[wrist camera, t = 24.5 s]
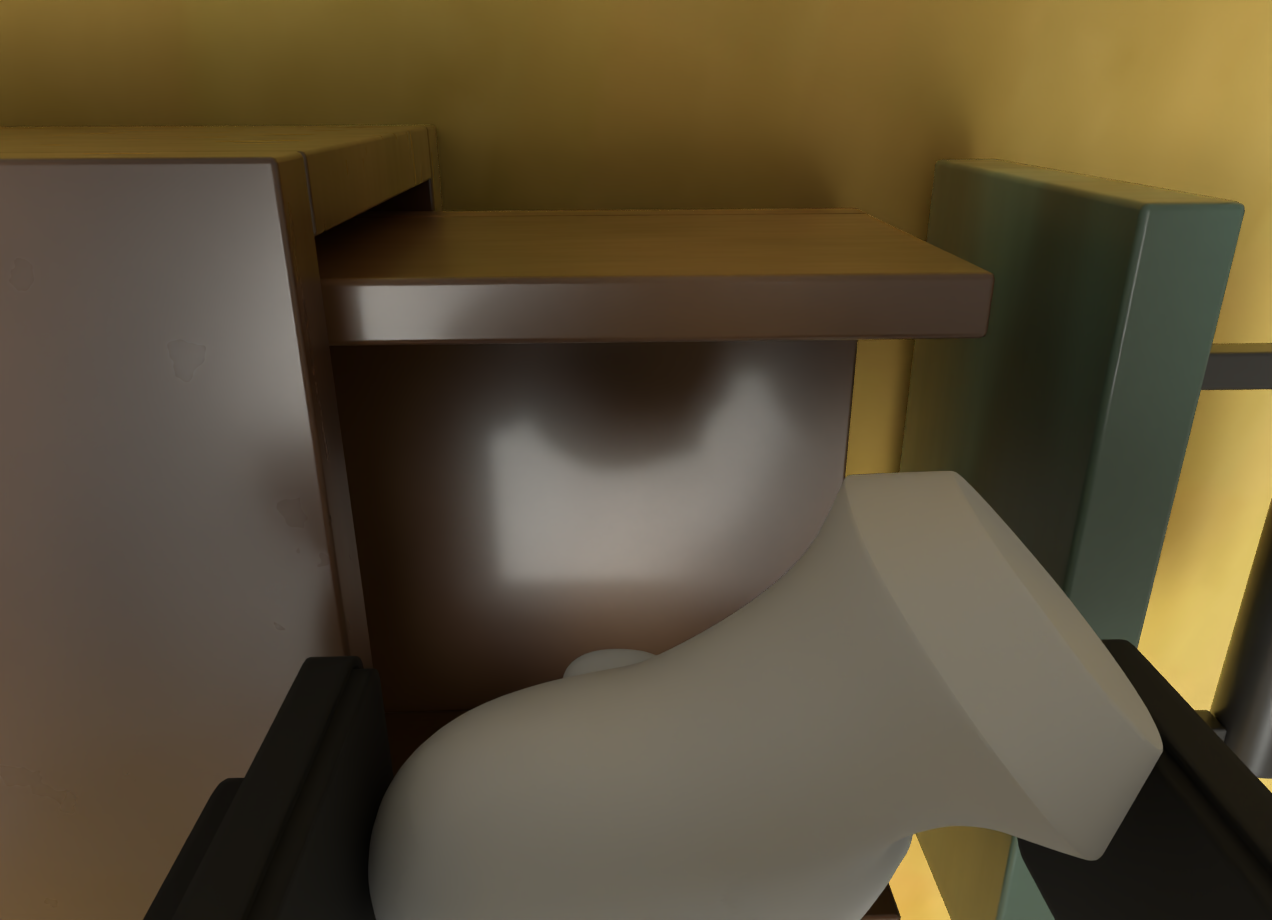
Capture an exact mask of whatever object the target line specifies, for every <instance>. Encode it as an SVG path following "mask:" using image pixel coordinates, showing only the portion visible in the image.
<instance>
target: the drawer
mask: <svg viewBox="0 0 1272 920" xmlns="http://www.w3.org/2000/svg"><path fill="white" fill-rule="evenodd" d="M1244 212H1245V210H1244V205H1243V204H1241V203H1239V202H1237V201H1231V200H1226V199H1220V198H1214V197H1209V196H1203V195H1197V194H1192V193H1186V192H1180V191H1175V190H1169V189H1163V188H1157V187H1152V186H1146V185H1140V184H1135V183H1129V182H1123V181H1118V180H1112V179H1106V178H1101V177H1095V176H1089V175H1083V174H1078V173H1072V172H1066V171H1061V170H1055V169H1049V168H1044V167H1038V166H1032V165H1027V164H1021V163H1015V162H1009V161H1004V160H998V159H946V160H939V161H937V162H936V165H935V172H934V180H933V189H932V197H931V206H930V214H929V223H928V232H927V240H926V242H925V241H923V240H921V239H919V238H917V237H915V236H913V235H911V234H908V233H906V232H904V231H902V230H900V229H898V228H896V227H894V226H891V225H889V224H887V223H885V222H883V221H881V220H879V219H877V218H875V217H872V216H870V215H868V214H867V213H865V212H863V211H861V210H859V209H857V208H797V209H662V210H527V211H392V212H363V213H361V214H359V215H357V216H355V217H353V218H351V219H349V220H347V221H345V222H343V223H341V224H339V225H337V226H335V227H333V228H331V229H329V230H327V231H325V232H323V233H321V234H319V235H317V236H315V237H314V238H315V246H316V253H317V260H318V268H319V275H320V282H321V290H322V297H323V304H324V312H325V319H326V326H327V334H328V341H329V348H330V356H331V363H332V370H333V378H334V385H335V392H336V400H337V407H338V414H339V422H340V429H341V436H342V444H343V451H344V458H345V466H346V473H347V480H348V488H349V495H350V502H351V510H352V517H353V524H354V532H355V539H356V546H357V554H358V561H359V568H360V576H361V583H362V590H363V598H364V605H365V612H366V620H367V627H368V634H369V642H370V649H371V656H372V663H373V668H375V669H377V670H378V673H379V676H380V681H381V689H382V696H383V703H384V710H385V718H386V725H387V732H388V740H389V747H390V754H391V761H392V769H393V776H394V777H395V775H396V774H397V772H398V771H399V769H400V768H401V767H402V765H403V764H404V763H405V762H406V760H407V759H408V758H409V757H410V756H411V755H412V754H413V752H414V751H415V750H416V749H417V748H418V747H419V746H420V745H421V744H423V743H424V742H425V741H426V740H427V739H428V738H429V737H431V736H432V735H433V734H434V733H435V732H437V731H438V730H439V729H441V728H442V727H443V726H445V725H446V724H448V723H449V722H451V721H453V720H454V719H456V718H457V717H459V716H461V715H462V714H464V713H466V712H468V711H470V710H472V709H474V708H476V707H478V706H480V705H482V704H484V703H486V702H489V701H491V700H494V699H496V698H499V697H501V696H504V695H507V694H510V693H513V692H515V691H518V690H521V689H525V688H528V687H531V686H535V685H538V684H542V683H546V682H549V681H553V680H557V679H562V678H563V676H564V673H565V671H566V669H567V667H568V666H569V665H570V664H571V663H572V662H573V661H574V660H575V659H577V658H578V657H580V656H582V655H584V654H587V653H590V652H593V651H598V650H605V649H631V650H639V651H644V652H648V653H651V654H654V655H656V656H657V655H659V654H661V653H663V652H665V651H667V650H670V649H672V648H674V647H676V646H678V645H679V644H681V643H683V642H685V641H687V640H689V639H691V638H693V637H695V636H696V635H698V634H700V633H702V632H704V631H705V630H707V629H709V628H710V627H712V626H714V625H716V624H717V623H719V622H721V621H722V620H724V619H725V618H727V617H729V616H730V615H732V614H733V613H735V612H736V611H738V610H740V609H741V608H742V607H744V606H745V605H747V604H748V603H750V602H751V601H753V600H754V599H755V598H757V597H758V596H759V595H761V594H762V593H763V592H765V591H766V590H767V589H768V588H770V587H771V586H772V585H773V584H774V583H776V582H777V581H778V580H779V579H780V578H781V577H782V576H784V575H785V574H786V573H787V572H788V571H789V570H790V569H791V568H792V567H793V566H794V565H795V564H796V563H797V562H798V560H799V559H800V558H801V557H802V556H803V555H804V553H805V552H806V551H807V550H808V548H809V547H810V545H811V544H812V543H813V541H814V540H815V538H816V536H817V535H818V533H819V531H820V529H821V528H822V526H823V524H824V522H825V520H826V518H827V516H828V514H829V512H830V509H831V507H832V505H833V503H834V501H835V499H836V496H837V494H838V492H839V490H840V487H841V485H842V483H843V480H844V479H845V472H846V461H847V451H848V440H849V429H850V418H851V407H852V396H853V385H854V374H855V364H856V353H857V342H858V340H877V339H915V343H914V352H913V360H912V369H911V377H910V386H909V394H908V403H907V412H906V420H905V429H904V437H903V446H902V454H901V463H900V472H928V471H953V472H956V473H958V474H959V475H960V476H961V477H963V478H964V479H965V480H966V481H967V482H968V483H969V484H970V485H971V486H972V487H973V488H974V489H975V490H976V491H977V492H978V493H979V494H980V495H981V497H982V498H983V499H984V500H985V501H986V502H987V503H988V504H989V505H990V506H991V507H992V509H993V510H994V511H995V512H996V513H997V514H998V515H999V516H1000V518H1001V519H1002V520H1003V521H1004V522H1005V523H1006V524H1007V525H1008V527H1009V528H1010V529H1011V530H1012V531H1013V532H1014V533H1015V535H1016V536H1017V537H1018V538H1019V539H1020V540H1021V542H1022V543H1023V544H1024V545H1025V546H1026V547H1027V549H1028V550H1029V551H1030V552H1031V553H1032V554H1033V556H1034V557H1035V558H1036V559H1037V560H1038V562H1039V563H1040V564H1041V565H1042V566H1043V567H1044V569H1045V570H1046V571H1047V572H1048V573H1049V575H1050V576H1051V577H1052V578H1053V579H1054V581H1055V582H1056V583H1057V584H1058V586H1059V587H1060V588H1061V589H1062V591H1063V592H1064V593H1065V594H1066V596H1067V597H1068V598H1069V599H1070V601H1071V602H1072V603H1073V604H1074V606H1075V607H1076V608H1077V610H1078V611H1079V612H1080V613H1081V615H1082V616H1083V617H1084V619H1085V620H1086V621H1087V623H1088V624H1089V625H1090V627H1091V628H1092V629H1093V631H1094V632H1095V633H1096V635H1097V636H1098V637H1099V639H1123V640H1127V641H1129V642H1130V643H1131V644H1133V645H1134V646H1135V647H1136V648H1138V644H1139V640H1140V635H1141V631H1142V627H1143V623H1144V619H1145V615H1146V611H1147V607H1148V603H1149V599H1150V595H1151V591H1152V587H1153V582H1154V578H1155V574H1156V570H1157V566H1158V562H1159V558H1160V554H1161V550H1162V546H1163V542H1164V538H1165V534H1166V530H1167V525H1168V521H1169V517H1170V513H1171V509H1172V505H1173V501H1174V497H1175V493H1176V489H1177V485H1178V481H1179V477H1180V472H1181V468H1182V464H1183V460H1184V456H1185V452H1186V448H1187V444H1188V440H1189V436H1190V432H1191V428H1192V424H1193V419H1194V415H1195V411H1196V407H1197V403H1198V399H1199V395H1200V391H1201V390H1253V389H1272V343H1246V344H1212V342H1213V338H1214V334H1215V330H1216V326H1217V322H1218V318H1219V314H1220V309H1221V305H1222V301H1223V297H1224V293H1225V289H1226V285H1227V281H1228V277H1229V273H1230V269H1231V265H1232V261H1233V256H1234V252H1235V248H1236V244H1237V240H1238V236H1239V232H1240V228H1241V224H1242V220H1243V216H1244ZM1195 711H1196V713H1197V714H1198V715H1199V716H1200V717H1201V718H1202V719H1203V720H1204V721H1205V722H1206V723H1207V724H1208V725H1209V726H1210V728H1211V729H1212V730H1213V731H1214V732H1215V733H1216V734H1217V735H1218V736H1219V737H1220V738H1221V739H1222V740H1223V741H1224V743H1225V744H1226V745H1227V746H1228V747H1229V748H1230V749H1231V750H1232V751H1233V752H1234V753H1235V754H1236V755H1237V756H1238V758H1239V759H1240V760H1241V761H1242V762H1243V763H1244V764H1245V765H1246V766H1247V767H1248V768H1249V769H1250V770H1251V771H1252V773H1253V774H1254V775H1255V776H1256V777H1258V778H1269V779H1271V778H1272V499H1271V503H1270V506H1269V509H1268V513H1267V516H1266V520H1265V523H1264V527H1263V530H1262V534H1261V537H1260V540H1259V544H1258V547H1257V551H1256V554H1255V558H1254V561H1253V565H1252V568H1251V571H1250V575H1249V578H1248V582H1247V585H1246V589H1245V592H1244V596H1243V599H1242V602H1241V606H1240V609H1239V613H1238V616H1237V620H1236V623H1235V626H1234V630H1233V633H1232V637H1231V640H1230V644H1229V647H1228V651H1227V654H1226V657H1225V661H1224V664H1223V668H1222V671H1221V675H1220V678H1219V682H1218V685H1217V688H1216V692H1215V695H1214V699H1213V702H1212V706H1211V709H1210V712H1209V711H1207V710H1195ZM915 834H916V836H917V838H918V841H919V843H920V846H921V848H922V850H923V853H924V855H925V858H926V860H927V862H928V865H929V867H930V870H931V872H932V874H933V877H934V879H935V882H936V884H937V886H938V889H939V891H940V894H941V896H942V898H943V901H944V903H945V906H946V908H947V910H948V913H949V915H950V918H951V920H1055V919H1054V917H1053V915H1052V913H1051V911H1050V910H1049V908H1048V906H1047V904H1046V902H1045V900H1044V898H1043V897H1042V895H1041V893H1040V891H1039V889H1038V887H1037V885H1036V883H1035V882H1034V880H1033V878H1032V876H1031V874H1030V872H1029V870H1028V868H1027V867H1026V865H1025V863H1024V861H1023V859H1022V856H1021V853H1020V850H1019V846H1018V840H1017V837H1015V836H1012V835H1009V834H1006V833H1003V832H1000V831H996V830H992V829H987V828H980V827H970V826H950V827H941V828H936V829H931V830H926V831H922V832H919V833H915ZM900 918H901V916H900V913H899V911H898V908H897V905H896V902H895V899H894V897H893V894H892V891H891V888H890V885H889V883H888V884H887V886H886V887H885V889H884V890H883V891H882V893H881V894H880V895H879V897H878V898H877V899H876V901H875V902H874V903H873V905H872V906H871V907H870V909H869V910H868V911H867V912H866V914H865V915H864V916H863V917H862V918H861V919H860V920H900Z"/></svg>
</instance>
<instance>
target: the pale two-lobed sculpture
mask: <svg viewBox="0 0 1272 920" xmlns="http://www.w3.org/2000/svg"><path fill="white" fill-rule="evenodd" d="M1162 752H1163V744H1162V740H1161V737H1160V734H1159V732H1158V729H1157V727H1156V725H1155V723H1154V721H1153V719H1152V717H1151V715H1150V713H1149V711H1148V709H1147V708H1146V706H1145V704H1144V703H1143V701H1142V699H1141V698H1140V696H1139V695H1138V693H1137V691H1136V690H1135V688H1134V687H1133V685H1132V684H1131V682H1130V681H1129V679H1128V678H1127V676H1126V675H1125V673H1124V672H1123V671H1122V669H1121V668H1120V666H1119V665H1118V663H1117V662H1116V661H1115V659H1114V658H1113V656H1112V655H1111V654H1110V652H1109V651H1108V649H1107V648H1106V647H1105V645H1104V644H1103V643H1102V641H1101V640H1100V639H1099V637H1098V636H1097V635H1096V633H1095V632H1094V631H1093V629H1092V628H1091V627H1090V625H1089V624H1088V623H1087V621H1086V620H1085V619H1084V617H1083V616H1082V615H1081V613H1080V612H1079V611H1078V610H1077V608H1076V607H1075V606H1074V604H1073V603H1072V602H1071V601H1070V599H1069V598H1068V597H1067V596H1066V594H1065V593H1064V592H1063V591H1062V589H1061V588H1060V587H1059V586H1058V584H1057V583H1056V582H1055V581H1054V579H1053V578H1052V577H1051V576H1050V575H1049V573H1048V572H1047V571H1046V570H1045V569H1044V567H1043V566H1042V565H1041V564H1040V563H1039V562H1038V560H1037V559H1036V558H1035V557H1034V556H1033V554H1032V553H1031V552H1030V551H1029V550H1028V549H1027V547H1026V546H1025V545H1024V544H1023V543H1022V542H1021V540H1020V539H1019V538H1018V537H1017V536H1016V535H1015V533H1014V532H1013V531H1012V530H1011V529H1010V528H1009V527H1008V525H1007V524H1006V523H1005V522H1004V521H1003V520H1002V519H1001V518H1000V516H999V515H998V514H997V513H996V512H995V511H994V510H993V509H992V507H991V506H990V505H989V504H988V503H987V502H986V501H985V500H984V499H983V498H982V497H981V495H980V494H979V493H978V492H977V491H976V490H975V489H974V488H973V487H972V486H971V485H970V484H969V483H968V482H967V481H966V480H965V479H964V478H963V477H961V476H960V475H959V474H958V473H956V472H953V471H928V472H899V473H878V474H857V475H849V476H847V477H846V478H845V479H844V480H843V483H842V485H841V487H840V490H839V492H838V494H837V496H836V499H835V501H834V503H833V505H832V507H831V509H830V512H829V514H828V516H827V518H826V520H825V522H824V524H823V526H822V528H821V529H820V531H819V533H818V535H817V536H816V538H815V540H814V541H813V543H812V544H811V545H810V547H809V548H808V550H807V551H806V552H805V553H804V555H803V556H802V557H801V558H800V559H799V560H798V562H797V563H796V564H795V565H794V566H793V567H792V568H791V569H790V570H789V571H788V572H787V573H786V574H785V575H784V576H782V577H781V578H780V579H779V580H778V581H777V582H776V583H774V584H773V585H772V586H771V587H770V588H768V589H767V590H766V591H765V592H763V593H762V594H761V595H759V596H758V597H757V598H755V599H754V600H753V601H751V602H750V603H748V604H747V605H745V606H744V607H742V608H741V609H740V610H738V611H736V612H735V613H733V614H732V615H730V616H729V617H727V618H725V619H724V620H722V621H721V622H719V623H717V624H716V625H714V626H712V627H710V628H709V629H707V630H705V631H704V632H702V633H700V634H698V635H696V636H695V637H693V638H691V639H689V640H687V641H685V642H683V643H681V644H679V645H678V646H676V647H674V648H672V649H670V650H667V651H665V652H663V653H661V654H659V655H657V656H656V655H654V654H651V653H648V652H644V651H639V650H631V649H605V650H598V651H593V652H590V653H587V654H584V655H582V656H580V657H578V658H577V659H575V660H574V661H573V662H572V663H571V664H570V665H569V666H568V667H567V669H566V671H565V673H564V676H563V678H562V679H557V680H553V681H549V682H546V683H542V684H538V685H535V686H531V687H528V688H525V689H521V690H518V691H515V692H513V693H510V694H507V695H504V696H501V697H499V698H496V699H494V700H491V701H489V702H486V703H484V704H482V705H480V706H478V707H476V708H474V709H472V710H470V711H468V712H466V713H464V714H462V715H461V716H459V717H457V718H456V719H454V720H453V721H451V722H449V723H448V724H446V725H445V726H443V727H442V728H441V729H439V730H438V731H437V732H435V733H434V734H433V735H432V736H431V737H429V738H428V739H427V740H426V741H425V742H424V743H423V744H421V745H420V746H419V747H418V748H417V749H416V750H415V751H414V752H413V754H412V755H411V756H410V757H409V758H408V759H407V760H406V762H405V763H404V764H403V765H402V767H401V768H400V769H399V771H398V772H397V774H396V775H395V777H394V778H393V780H392V782H391V784H390V785H389V787H388V789H387V791H386V792H385V795H384V797H383V799H382V801H381V804H380V806H379V809H378V813H377V816H376V819H375V822H374V826H373V830H372V834H371V840H370V848H369V860H368V882H369V890H370V896H371V901H372V905H373V910H374V914H375V918H376V920H860V919H861V918H862V917H863V916H864V915H865V914H866V912H867V911H868V910H869V909H870V907H871V906H872V905H873V903H874V902H875V901H876V899H877V898H878V897H879V895H880V894H881V893H882V891H883V890H884V889H885V887H886V886H887V884H888V883H889V881H890V879H891V878H892V876H893V874H894V873H895V871H896V869H897V867H898V866H899V864H900V863H901V861H902V860H903V858H904V856H905V855H906V853H907V851H908V849H909V847H910V844H911V840H912V835H913V834H915V833H919V832H922V831H926V830H931V829H936V828H941V827H950V826H970V827H980V828H987V829H992V830H996V831H1000V832H1003V833H1006V834H1009V835H1012V836H1015V837H1018V838H1021V839H1024V840H1027V841H1030V842H1033V843H1036V844H1038V845H1041V846H1044V847H1047V848H1050V849H1053V850H1056V851H1059V852H1062V853H1065V854H1068V855H1072V856H1075V857H1078V858H1082V859H1085V860H1091V861H1092V860H1097V859H1099V858H1100V857H1101V856H1102V855H1103V853H1104V852H1105V850H1106V848H1107V847H1108V845H1109V843H1110V842H1111V840H1112V838H1113V836H1114V835H1115V833H1116V831H1117V830H1118V828H1119V826H1120V824H1121V823H1122V821H1123V819H1124V818H1125V816H1126V814H1127V812H1128V811H1129V809H1130V807H1131V805H1132V804H1133V802H1134V800H1135V799H1136V797H1137V795H1138V793H1139V792H1140V790H1141V788H1142V786H1143V785H1144V783H1145V781H1146V780H1147V778H1148V776H1149V774H1150V773H1151V771H1152V769H1153V767H1154V766H1155V764H1156V762H1157V761H1158V759H1159V757H1160V755H1161V754H1162Z"/></svg>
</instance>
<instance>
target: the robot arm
mask: <svg viewBox="0 0 1272 920" xmlns="http://www.w3.org/2000/svg"><path fill="white" fill-rule="evenodd" d="M1100 640H1101V641H1102V643H1103V644H1104V645H1105V647H1106V648H1107V649H1108V651H1109V652H1110V654H1111V655H1112V656H1113V658H1114V659H1115V661H1116V662H1117V663H1118V665H1119V666H1120V668H1121V669H1122V671H1123V672H1124V673H1125V675H1126V676H1127V678H1128V679H1129V681H1130V682H1131V684H1132V685H1133V687H1134V688H1135V690H1136V691H1137V693H1138V695H1139V696H1140V698H1141V699H1142V701H1143V703H1144V704H1145V706H1146V708H1147V709H1148V711H1149V713H1150V715H1151V717H1152V719H1153V721H1154V723H1155V725H1156V727H1157V729H1158V732H1159V734H1160V737H1161V740H1162V744H1163V752H1162V754H1161V755H1160V757H1159V759H1158V761H1157V762H1156V764H1155V766H1154V767H1153V769H1152V771H1151V773H1150V774H1149V776H1148V778H1147V780H1146V781H1145V783H1144V785H1143V786H1142V788H1141V790H1140V792H1139V793H1138V795H1137V797H1136V799H1135V800H1134V802H1133V804H1132V805H1131V807H1130V809H1129V811H1128V812H1127V814H1126V816H1125V818H1124V819H1123V821H1122V823H1121V824H1120V826H1119V828H1118V830H1117V831H1116V833H1115V835H1114V836H1113V838H1112V840H1111V842H1110V843H1109V845H1108V847H1107V848H1106V850H1105V852H1104V853H1103V855H1102V856H1101V857H1100V858H1099V859H1097V860H1092V861H1091V860H1085V859H1082V858H1078V857H1075V856H1072V855H1068V854H1065V853H1062V852H1059V851H1056V850H1053V849H1050V848H1047V847H1044V846H1041V845H1038V844H1036V843H1033V842H1030V841H1027V840H1024V839H1021V838H1018V837H1017V840H1018V846H1019V850H1020V853H1021V856H1022V859H1023V861H1024V863H1025V865H1026V867H1027V868H1028V870H1029V872H1030V874H1031V876H1032V878H1033V880H1034V882H1035V883H1036V885H1037V887H1038V889H1039V891H1040V893H1041V895H1042V897H1043V898H1044V900H1045V902H1046V904H1047V906H1048V908H1049V910H1050V911H1051V913H1052V915H1053V917H1054V919H1055V920H1272V793H1271V792H1270V791H1269V790H1268V789H1267V788H1266V786H1265V785H1264V784H1263V783H1262V782H1261V781H1260V780H1259V779H1258V778H1257V777H1256V776H1255V775H1254V774H1253V773H1252V771H1251V770H1250V769H1249V768H1248V767H1247V766H1246V765H1245V764H1244V763H1243V762H1242V761H1241V760H1240V759H1239V758H1238V756H1237V755H1236V754H1235V753H1234V752H1233V751H1232V750H1231V749H1230V748H1229V747H1228V746H1227V745H1226V744H1225V743H1224V741H1223V740H1222V739H1221V738H1220V737H1219V736H1218V735H1217V734H1216V733H1215V732H1214V731H1213V730H1212V729H1211V728H1210V726H1209V725H1208V724H1207V723H1206V722H1205V721H1204V720H1203V719H1202V718H1201V717H1200V716H1199V715H1198V714H1197V713H1196V711H1195V710H1194V709H1193V708H1192V707H1191V706H1190V705H1189V704H1188V703H1187V702H1186V701H1185V700H1184V699H1183V698H1182V696H1181V695H1180V694H1179V693H1178V692H1177V691H1176V690H1175V689H1174V688H1173V687H1172V686H1171V685H1170V684H1169V683H1168V681H1167V680H1166V679H1165V678H1164V677H1163V676H1162V675H1161V674H1160V673H1159V672H1158V671H1157V670H1156V669H1155V668H1154V667H1153V665H1152V664H1151V663H1150V662H1149V661H1148V660H1147V659H1146V658H1145V657H1144V656H1143V655H1142V654H1141V653H1140V652H1139V650H1138V649H1137V648H1136V647H1135V646H1134V645H1133V644H1131V643H1130V642H1129V641H1127V640H1123V639H1100ZM393 778H394V776H393V769H392V761H391V754H390V747H389V740H388V732H387V725H386V718H385V710H384V703H383V696H382V689H381V681H380V676H379V673H378V670H377V669H375V668H367V669H364V667H363V663H362V661H361V659H360V658H359V657H358V656H332V657H309V658H307V659H306V660H305V661H304V663H303V664H302V666H301V668H300V670H299V672H298V674H297V676H296V678H295V680H294V682H293V684H292V686H291V688H290V690H289V692H288V694H287V695H286V697H285V699H284V701H283V703H282V705H281V707H280V709H279V711H278V713H277V715H276V717H275V719H274V721H273V723H272V725H271V727H270V729H269V731H268V733H267V734H266V736H265V738H264V740H263V742H262V744H261V746H260V748H259V750H258V752H257V754H256V756H255V758H254V760H253V762H252V764H251V766H250V768H249V770H248V772H247V773H246V775H245V777H244V778H227V779H225V780H224V781H222V782H221V783H219V784H218V786H217V787H216V789H215V790H214V791H213V793H212V794H211V796H210V798H209V800H208V801H207V803H206V805H205V807H204V809H203V811H202V812H201V814H200V816H199V818H198V820H197V822H196V823H195V825H194V827H193V829H192V831H191V833H190V834H189V836H188V838H187V840H186V842H185V844H184V845H183V847H182V849H181V851H180V853H179V854H178V856H177V858H176V860H175V862H174V864H173V865H172V867H171V869H170V871H169V873H168V875H167V876H166V878H165V880H164V882H163V884H162V886H161V887H160V889H159V891H158V893H157V895H156V897H155V898H154V900H153V902H152V904H151V906H150V907H149V909H148V911H147V913H146V915H145V917H144V918H143V920H376V918H375V914H374V910H373V905H372V901H371V896H370V890H369V882H368V860H369V848H370V840H371V834H372V830H373V826H374V822H375V819H376V816H377V813H378V809H379V806H380V804H381V801H382V799H383V797H384V795H385V792H386V791H387V789H388V787H389V785H390V784H391V782H392V780H393Z"/></svg>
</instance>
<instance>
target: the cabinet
mask: <svg viewBox="0 0 1272 920" xmlns="http://www.w3.org/2000/svg"><path fill="white" fill-rule="evenodd" d="M392 211H443V208H442V196H441V183H440V171H439V159H438V147H437V135H436V128H435V126H434V125H254V126H47V127H0V920H143V918H144V917H145V915H146V913H147V911H148V909H149V907H150V906H151V904H152V902H153V900H154V898H155V897H156V895H157V893H158V891H159V889H160V887H161V886H162V884H163V882H164V880H165V878H166V876H167V875H168V873H169V871H170V869H171V867H172V865H173V864H174V862H175V860H176V858H177V856H178V854H179V853H180V851H181V849H182V847H183V845H184V844H185V842H186V840H187V838H188V836H189V834H190V833H191V831H192V829H193V827H194V825H195V823H196V822H197V820H198V818H199V816H200V814H201V812H202V811H203V809H204V807H205V805H206V803H207V801H208V800H209V798H210V796H211V794H212V793H213V791H214V790H215V789H216V787H217V786H218V784H219V783H221V782H222V781H224V780H225V779H227V778H244V777H245V775H246V773H247V772H248V770H249V768H250V766H251V764H252V762H253V760H254V758H255V756H256V754H257V752H258V750H259V748H260V746H261V744H262V742H263V740H264V738H265V736H266V734H267V733H268V731H269V729H270V727H271V725H272V723H273V721H274V719H275V717H276V715H277V713H278V711H279V709H280V707H281V705H282V703H283V701H284V699H285V697H286V695H287V694H288V692H289V690H290V688H291V686H292V684H293V682H294V680H295V678H296V676H297V674H298V672H299V670H300V668H301V666H302V664H303V663H304V661H305V660H306V659H307V658H309V657H332V656H358V657H359V658H360V659H361V661H362V663H363V667H364V669H367V668H373V663H372V656H371V649H370V642H369V634H368V627H367V620H366V612H365V605H364V598H363V590H362V583H361V576H360V568H359V561H358V554H357V546H356V539H355V532H354V524H353V517H352V510H351V502H350V495H349V488H348V480H347V473H346V466H345V458H344V451H343V444H342V436H341V429H340V422H339V414H338V407H337V400H336V392H335V385H334V378H333V370H332V363H331V356H330V348H329V341H328V334H327V326H326V319H325V312H324V304H323V297H322V290H321V282H320V275H319V268H318V260H317V253H316V246H315V238H314V237H315V236H317V235H319V234H321V233H323V232H325V231H327V230H329V229H331V228H333V227H335V226H337V225H339V224H341V223H343V222H345V221H347V220H349V219H351V218H353V217H355V216H357V215H359V214H361V213H363V212H392Z"/></svg>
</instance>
